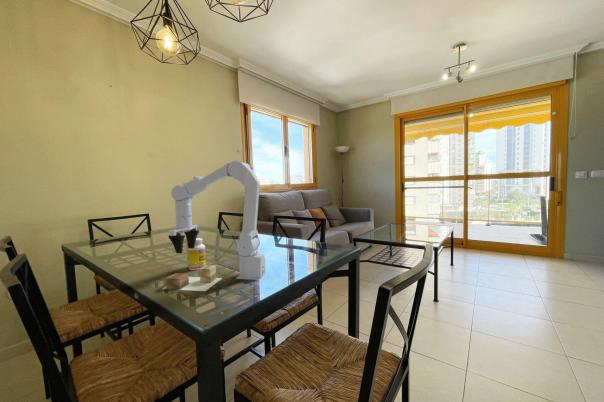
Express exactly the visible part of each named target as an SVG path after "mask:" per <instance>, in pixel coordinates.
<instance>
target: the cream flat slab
mask: <svg viewBox="0 0 604 402" xmlns="http://www.w3.org/2000/svg"><path fill="white" fill-rule="evenodd" d="M222 279H223V277H216V279H215V280H214V281H213V282H211V283H201V282H200V276H189V284H187V285H186V286H184V287H182V288H181V289H171V290H175V291H178V290H179V291H196V292H206V291H208V290H209V289H210V288H211V287H213V286H214V285H215V284H217V283H218V282H220V281H221V280H222ZM161 290H169V289H168V288H166V286H164V287H162V288H161Z"/></svg>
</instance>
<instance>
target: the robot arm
mask: <svg viewBox="0 0 604 402" xmlns="http://www.w3.org/2000/svg"><path fill="white" fill-rule="evenodd" d="M226 177H227V178H228V177H229V178H233V179H235V180H237V181H238V182H239V183H240V184H241V185H243V187H244V188H245V189H244V200H243V201H244V203H243V204H244V205H243V216H242V229H241V232H240V234H239V238H238V241H237V243H236V246H235V247H236V251H237V253H238V254H239V255H238V258H239V262H238V263H239V275H238V276H237V277H235V279H236V280H239V279H240V280H241V279H242V280H251V281H253V280H254V281H255V280H257V281H260V280H261V279H262V278H263V277H264V276H265V275H266V274H267V272H266V256H265V255H264V253H263V254H262V253H259V250H258V249H259V246H260V244H261V241H260V238H259V232H258V231H259V230H258V229H257V224H258V212H259V200H260V199H259V198H260V184H261V183H260V180H259V178H258V176H257V175H256V173H255V169H254V167H252V166H251V165H250V164H249V163H248V162H242V161H240V160H233V161H231V162H227V163H225V164H224V165H222V166H221V167H219V168H218V169H216V170H214V171H212V172H210V173H209V174H207V175H206V176H204V177H203V176H200V175H199V176H196V175H195V176H193V177H192V179H191V180H189V181H186V182H183V184H182V185H174V187H173V188H172V189H171V192H170V194H171V197H172V199H174V206H175V207H174V209H175V210H174V211H175V227H174V228H173V229H170V230H169V234H168V239H169V240H170V242H171V243H172V245H173V248H174V250H175V253H176V254H183V247H184V240H185V238H186V241H187V249H188V248H194V245H195V241H196V238H198V235H199V233H200V230H198V224H193V217H192V216H193V214H192V213H193V212H192V199H193V198H194V197H195V196H196V195H199V194H200V193H203V192H204V191H206V190H208V187H209V185H212V184H214V183H216V182H218V181H220V180H222V179H225V178H226ZM183 233H184V234H183Z"/></svg>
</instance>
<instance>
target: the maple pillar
mask: <svg viewBox="0 0 604 402" xmlns="http://www.w3.org/2000/svg"><path fill="white" fill-rule="evenodd" d="M199 277H200V282H201V283H211V282H213V281H214V280H215V279H216V278H217V266H216V265H211V264H210V265H207V264H206V265H205V266H204V267H202V268H200V269H199Z"/></svg>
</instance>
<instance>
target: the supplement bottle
mask: <svg viewBox="0 0 604 402" xmlns="http://www.w3.org/2000/svg"><path fill="white" fill-rule="evenodd" d="M187 249H188V268H189V269H188V270H190V271H198V270H199V271H200V268H202V267H204V266H205V265H207V263H206V261H207V260H206V246H205V244H203V238H202V237H196V241H195V245H194V248H188V247H187Z"/></svg>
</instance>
